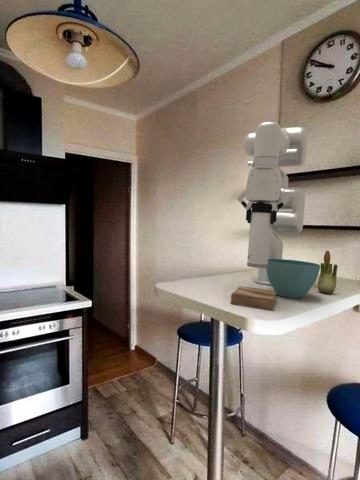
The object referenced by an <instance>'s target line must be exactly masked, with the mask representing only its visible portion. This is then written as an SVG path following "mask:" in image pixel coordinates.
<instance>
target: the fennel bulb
mask: <svg viewBox="0 0 360 480" xmlns="http://www.w3.org/2000/svg"><path fill="white" fill-rule="evenodd" d="M338 265H339V264H333V263H331V262H330V263H329V267H328V263H325V264H324V262H320V270H319V275H318V276H319V277H318V281H317V282H318V287H317V290H318V292H320V293H322V294H328V295H332V294H333V293H335V290H336V289H335V287H336V286H337V274H338Z"/></svg>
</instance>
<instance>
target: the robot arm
mask: <svg viewBox="0 0 360 480" xmlns="http://www.w3.org/2000/svg"><path fill="white" fill-rule="evenodd" d="M307 145H308V137H307V132H306V129H305V128H303V127H302V126H294V127H281V125H280V124H279V123H277V122H272V121H268V122H267V121H265V122H262V123H260V124H258V125H257V126H256V128H255V132H250V133H247V134H246V136H245V137H244V142H243V149H244V153H245V154H246V155H247V156H248V157H253V159H252V160H251V161H248V162H247V166H248V167H251V168H249V171H248V174H247V180H246V187H245V190H244V191H243V192H242V193H240V195H238V196H237V197H236V200H237V201H239V203H240V204H241V205H242V206H243V208H245V210H246V215H245V221H247V224H250V221H251V211H252V203H257V202H263V203H269V204H272V213H271V232H270V245H269V257H268V259H283V251H284V242H283V240H282V239H281V237H280V236H279V234H290V235H292V234H293V235H297V234H300V233H301V232H302V231H303V227H304V219H305V218H304V217H305V206H306V205H305V204H306V194H305V191H304V189H302V188H299V187H288V186H289V177H288V175H287V174H286V173H285V171H284V170H283V169H282V167H283V168H284V167H285V168H286V167H291V168H292V167H301V166H303V165H304V163H306V159H307ZM280 167H281V168H280ZM244 198H245V200H246V201H248V202H246V201H245V200H244ZM285 210H286V211H285ZM288 210H290V211H288ZM257 269H258V271H257V277H254V278H253V281H254V282H255V283H258V284H262V285H267V286H272V285H271V283H270V281H269V279H268V275H267V271H266V268H257Z"/></svg>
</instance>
